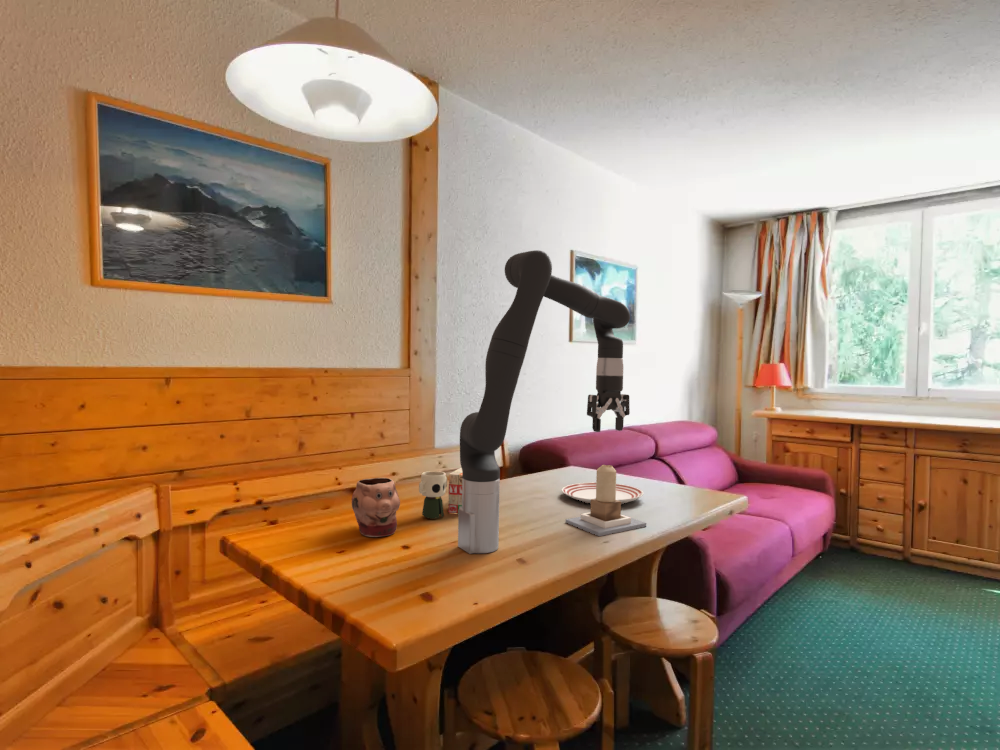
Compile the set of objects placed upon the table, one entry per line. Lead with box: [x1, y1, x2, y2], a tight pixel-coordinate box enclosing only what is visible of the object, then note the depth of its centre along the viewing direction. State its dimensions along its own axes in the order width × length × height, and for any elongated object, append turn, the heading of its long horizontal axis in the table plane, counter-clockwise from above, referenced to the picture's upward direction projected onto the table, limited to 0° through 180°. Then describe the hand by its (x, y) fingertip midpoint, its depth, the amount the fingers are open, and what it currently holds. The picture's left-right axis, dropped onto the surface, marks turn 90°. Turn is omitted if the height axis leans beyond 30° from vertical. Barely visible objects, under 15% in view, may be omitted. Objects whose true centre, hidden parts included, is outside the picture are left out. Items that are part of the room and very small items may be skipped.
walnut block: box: [589, 498, 622, 521], centre depth 155 cm, size 6×6×6 cm
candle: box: [595, 464, 617, 502], centre depth 155 cm, size 6×6×10 cm
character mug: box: [418, 470, 448, 520], centre depth 159 cm, size 11×7×13 cm, turn 140°
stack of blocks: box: [447, 467, 462, 515], centre depth 173 cm, size 21×6×12 cm, turn 164°
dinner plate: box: [561, 481, 644, 505], centre depth 186 cm, size 28×27×3 cm
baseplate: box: [564, 511, 647, 537], centre depth 155 cm, size 18×14×2 cm
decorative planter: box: [351, 477, 401, 538], centre depth 146 cm, size 20×12×14 cm, turn 36°
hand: (608, 431), depth 155 cm, fingers open, 8 cm apart
